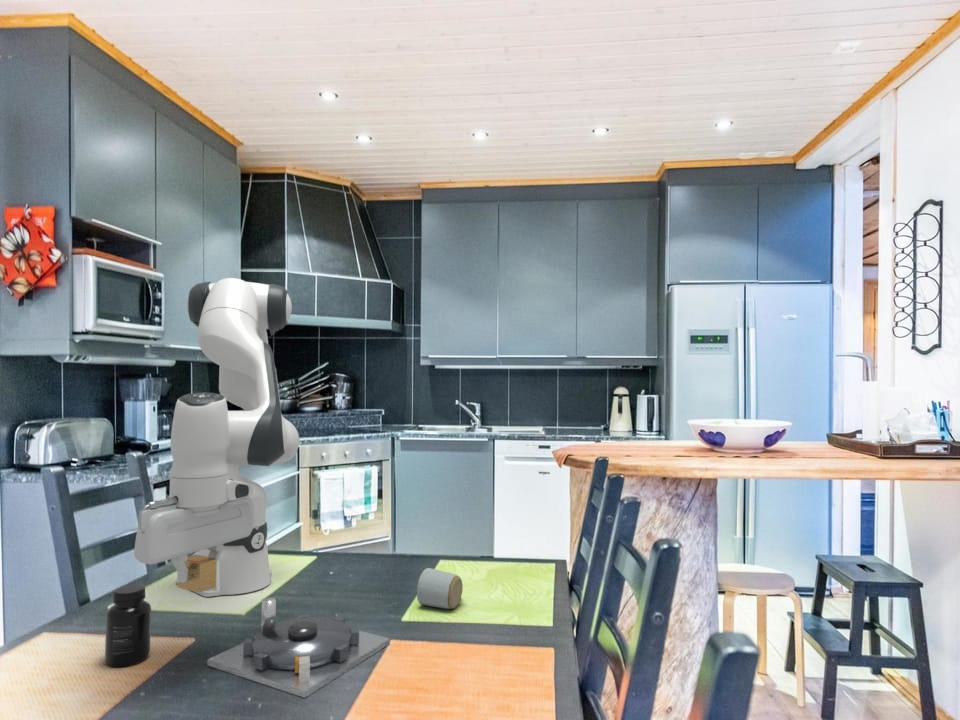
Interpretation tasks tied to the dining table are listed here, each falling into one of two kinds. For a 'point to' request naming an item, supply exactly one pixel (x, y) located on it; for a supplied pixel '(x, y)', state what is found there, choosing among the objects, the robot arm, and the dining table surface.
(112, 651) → the supplement bottle
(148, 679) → the dining table surface
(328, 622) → the sprocket
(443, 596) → the ceramic mug
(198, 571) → the tan block
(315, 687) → the base plate
